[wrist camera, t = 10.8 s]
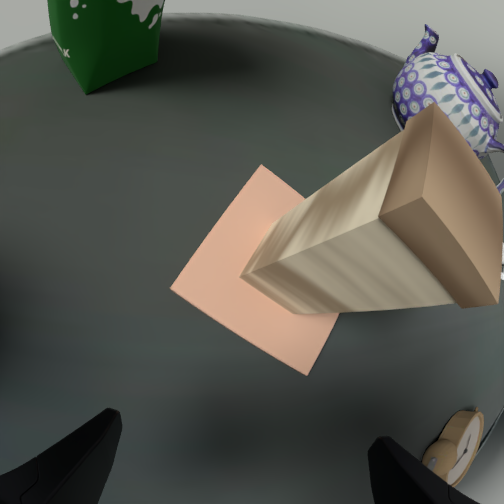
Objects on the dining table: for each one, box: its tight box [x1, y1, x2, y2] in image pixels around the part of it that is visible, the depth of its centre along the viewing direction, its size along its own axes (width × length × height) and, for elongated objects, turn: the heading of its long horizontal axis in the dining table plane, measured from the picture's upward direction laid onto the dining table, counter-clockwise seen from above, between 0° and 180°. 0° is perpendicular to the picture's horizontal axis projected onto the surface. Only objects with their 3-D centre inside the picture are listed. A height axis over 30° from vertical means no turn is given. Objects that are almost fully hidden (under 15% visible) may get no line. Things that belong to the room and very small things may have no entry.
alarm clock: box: [422, 407, 484, 487], centre depth 21 cm, size 11×5×15 cm
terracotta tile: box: [170, 165, 339, 376], centre depth 20 cm, size 11×11×1 cm
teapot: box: [392, 24, 504, 194], centre depth 25 cm, size 25×15×15 cm, turn 8°
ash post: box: [239, 102, 503, 314], centre depth 13 cm, size 5×5×14 cm
